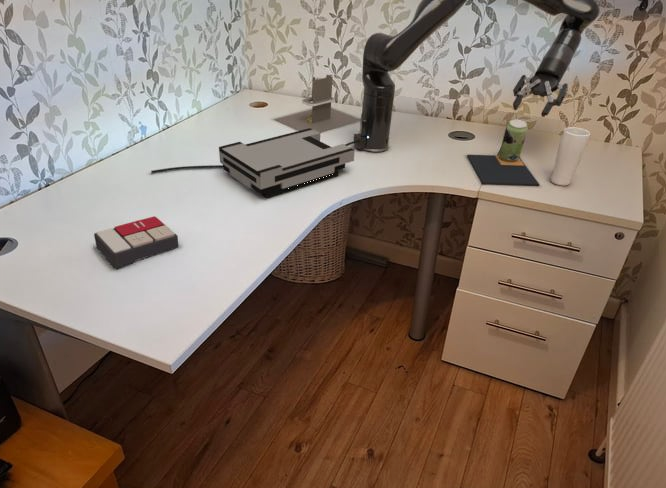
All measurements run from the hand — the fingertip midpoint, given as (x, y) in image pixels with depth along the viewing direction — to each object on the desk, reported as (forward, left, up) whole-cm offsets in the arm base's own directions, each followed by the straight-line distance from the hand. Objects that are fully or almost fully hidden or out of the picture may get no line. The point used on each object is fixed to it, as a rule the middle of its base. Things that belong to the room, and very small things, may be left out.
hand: (528, 112), depth 157 cm
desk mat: (-7, -10, -14) cm, 19 cm away
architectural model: (-62, +29, -15) cm, 70 cm away
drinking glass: (+8, -17, -15) cm, 24 cm away
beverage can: (-3, -3, -14) cm, 15 cm away
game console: (-71, -17, -15) cm, 74 cm away
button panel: (-102, -59, -15) cm, 119 cm away
